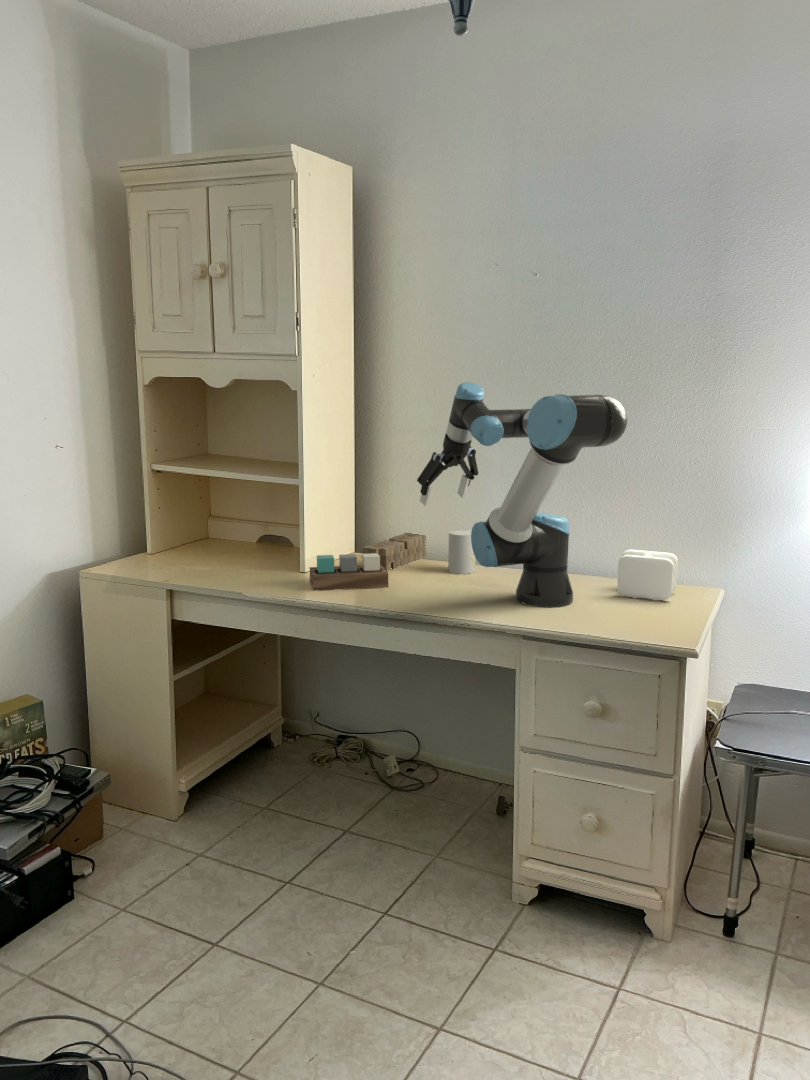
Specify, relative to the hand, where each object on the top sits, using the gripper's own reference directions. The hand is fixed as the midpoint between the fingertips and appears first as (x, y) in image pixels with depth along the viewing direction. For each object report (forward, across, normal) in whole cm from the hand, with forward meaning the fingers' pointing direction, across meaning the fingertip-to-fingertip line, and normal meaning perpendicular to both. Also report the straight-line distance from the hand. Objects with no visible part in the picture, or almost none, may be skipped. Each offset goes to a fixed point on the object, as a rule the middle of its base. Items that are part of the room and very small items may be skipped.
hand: (442, 499), depth 255 cm
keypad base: (+22, +29, +3) cm, 37 cm away
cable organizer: (+2, -32, +55) cm, 63 cm away
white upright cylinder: (+23, -8, +9) cm, 25 cm away
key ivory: (+17, +23, +3) cm, 29 cm away
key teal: (+19, +35, -2) cm, 40 cm away
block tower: (+32, +2, -10) cm, 33 cm away
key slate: (+18, +29, +1) cm, 34 cm away
